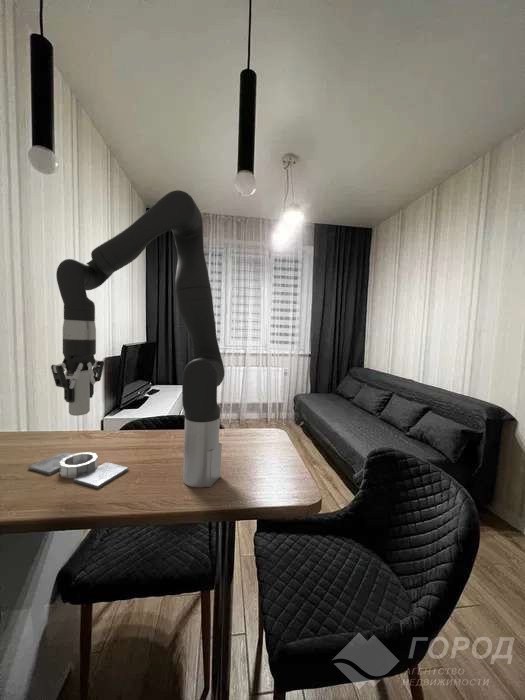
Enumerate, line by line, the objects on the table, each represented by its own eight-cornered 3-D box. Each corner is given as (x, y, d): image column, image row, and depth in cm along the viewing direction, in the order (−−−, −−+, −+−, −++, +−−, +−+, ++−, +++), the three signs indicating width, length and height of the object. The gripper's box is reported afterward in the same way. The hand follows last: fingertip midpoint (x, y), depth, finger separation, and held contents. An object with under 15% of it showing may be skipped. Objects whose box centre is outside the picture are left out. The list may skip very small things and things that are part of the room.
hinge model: (128, 470, 79) (128, 459, 78) (97, 488, 69) (97, 477, 69) (64, 454, 86) (64, 444, 86) (28, 469, 77) (28, 458, 76)
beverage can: (64, 413, 75) (64, 370, 75) (83, 409, 80) (83, 368, 79) (75, 417, 73) (75, 372, 72) (93, 412, 78) (93, 370, 77)
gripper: (63, 338, 67) (64, 408, 68) (112, 338, 81) (111, 395, 82) (41, 337, 69) (42, 404, 71) (92, 336, 83) (92, 393, 84)
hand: (79, 399), depth 76 cm, fingers closed on beverage can, 5 cm apart
